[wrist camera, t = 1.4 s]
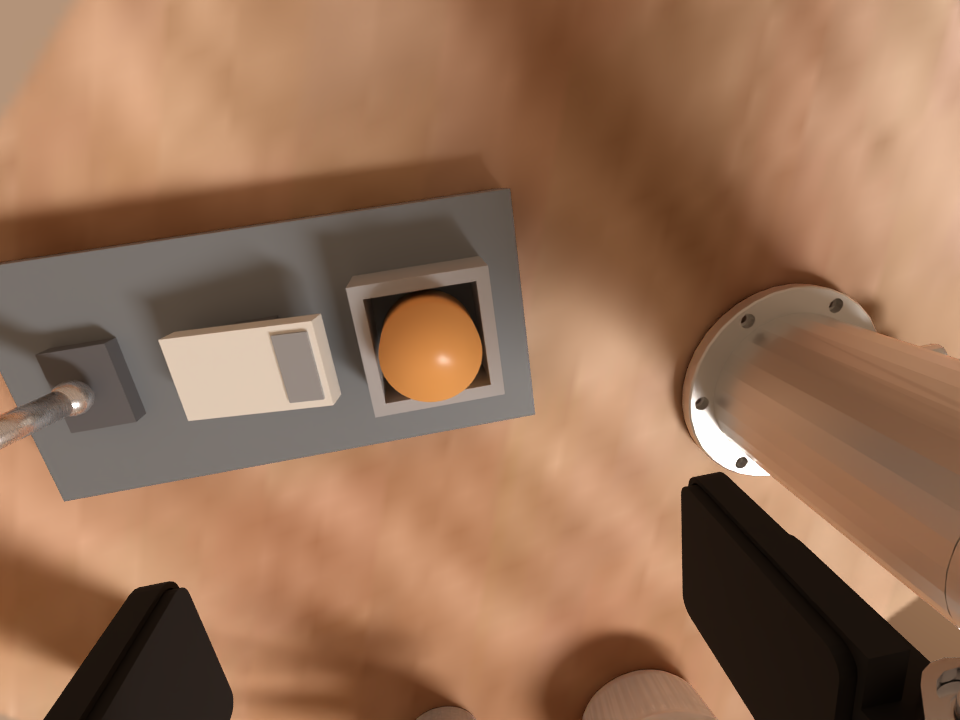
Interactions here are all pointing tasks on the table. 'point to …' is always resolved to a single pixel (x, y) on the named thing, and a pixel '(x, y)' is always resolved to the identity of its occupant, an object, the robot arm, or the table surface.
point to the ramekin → (647, 699)
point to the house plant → (446, 714)
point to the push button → (429, 346)
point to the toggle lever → (45, 411)
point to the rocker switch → (252, 367)
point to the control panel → (250, 298)
